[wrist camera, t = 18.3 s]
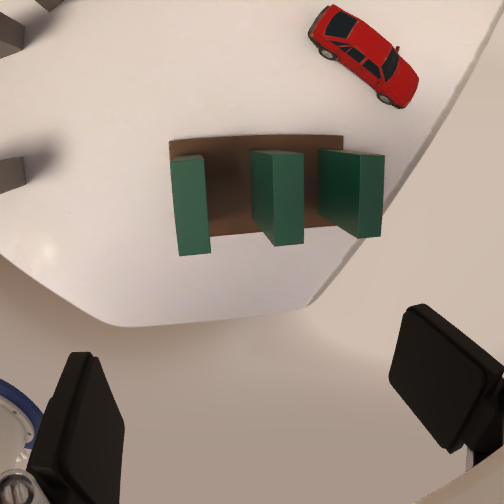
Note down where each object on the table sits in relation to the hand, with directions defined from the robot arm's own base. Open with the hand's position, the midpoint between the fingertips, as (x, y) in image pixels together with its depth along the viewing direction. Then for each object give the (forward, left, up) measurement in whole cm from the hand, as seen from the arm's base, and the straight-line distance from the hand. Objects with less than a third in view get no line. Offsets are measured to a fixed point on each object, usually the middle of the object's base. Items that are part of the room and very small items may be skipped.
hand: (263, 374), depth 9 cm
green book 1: (+2, +2, -25) cm, 25 cm away
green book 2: (+2, -6, -25) cm, 25 cm away
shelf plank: (+2, -6, -26) cm, 27 cm away
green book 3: (+2, -13, -25) cm, 28 cm away
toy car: (+16, -18, -26) cm, 36 cm away
